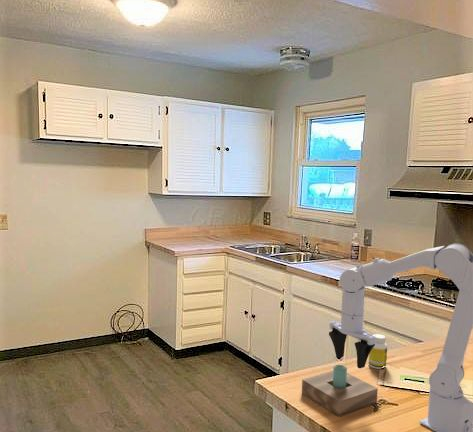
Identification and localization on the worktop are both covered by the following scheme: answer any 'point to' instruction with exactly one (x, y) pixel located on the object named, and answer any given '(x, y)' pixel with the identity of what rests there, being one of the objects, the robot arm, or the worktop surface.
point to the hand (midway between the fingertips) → (350, 362)
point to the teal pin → (339, 376)
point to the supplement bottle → (378, 352)
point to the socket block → (339, 393)
